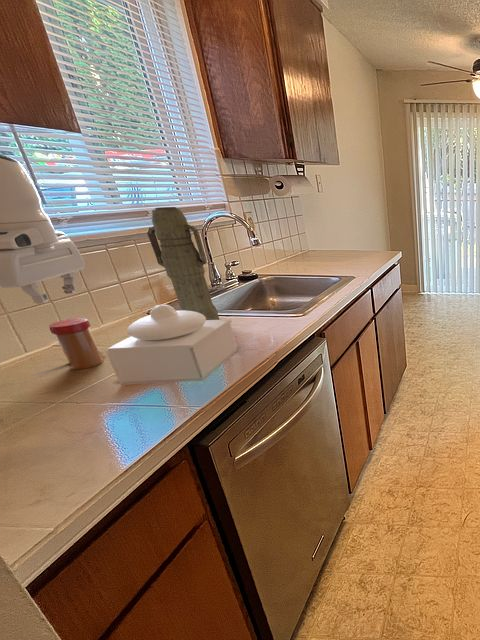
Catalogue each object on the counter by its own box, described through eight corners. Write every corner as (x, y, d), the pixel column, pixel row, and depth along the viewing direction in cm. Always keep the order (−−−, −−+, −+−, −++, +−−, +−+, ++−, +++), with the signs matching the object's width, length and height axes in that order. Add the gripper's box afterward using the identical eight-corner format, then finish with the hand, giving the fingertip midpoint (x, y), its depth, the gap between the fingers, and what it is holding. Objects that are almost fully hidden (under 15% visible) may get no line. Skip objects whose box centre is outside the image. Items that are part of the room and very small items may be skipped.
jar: (65, 367, 98) (45, 327, 93) (94, 358, 103) (76, 319, 98) (80, 370, 96) (61, 329, 91) (109, 361, 101) (91, 321, 96)
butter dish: (168, 353, 105) (147, 294, 98) (240, 350, 106) (223, 292, 99) (120, 385, 89) (90, 317, 82) (204, 380, 90) (181, 313, 83)
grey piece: (187, 329, 122) (146, 207, 107) (230, 325, 125) (196, 205, 110) (176, 339, 114) (130, 209, 99) (223, 335, 117) (184, 207, 102)
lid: (45, 332, 94) (41, 325, 93) (79, 323, 99) (76, 316, 99) (62, 335, 91) (59, 328, 91) (96, 326, 97) (93, 319, 96)
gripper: (49, 230, 95) (75, 287, 101) (-35, 242, 77) (2, 311, 83) (79, 229, 96) (103, 285, 102) (2, 241, 78) (37, 309, 84)
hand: (57, 297), depth 92 cm, fingers open, 7 cm apart
